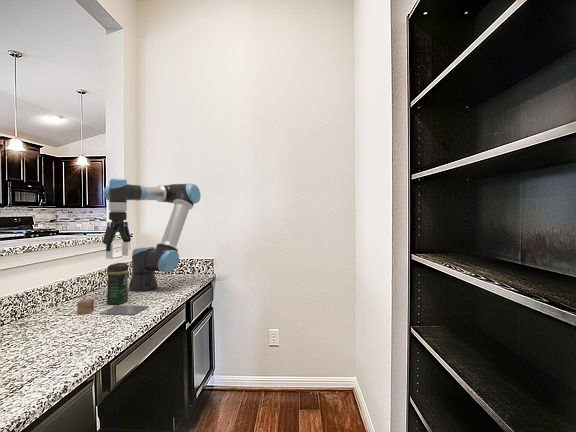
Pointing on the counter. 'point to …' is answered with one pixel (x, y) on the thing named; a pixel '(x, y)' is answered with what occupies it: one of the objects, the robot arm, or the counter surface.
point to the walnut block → (85, 306)
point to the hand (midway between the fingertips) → (117, 257)
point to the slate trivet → (124, 310)
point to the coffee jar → (117, 283)
